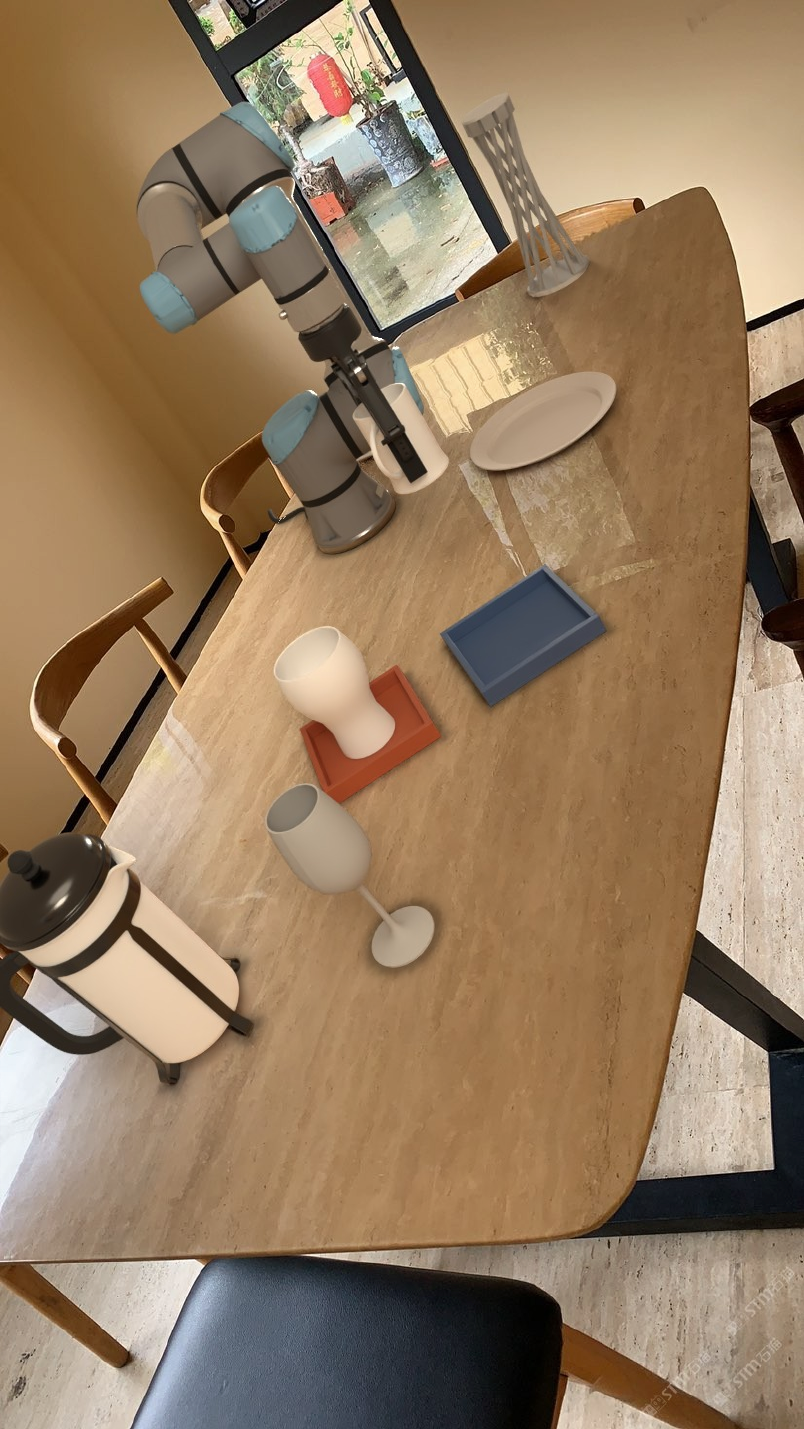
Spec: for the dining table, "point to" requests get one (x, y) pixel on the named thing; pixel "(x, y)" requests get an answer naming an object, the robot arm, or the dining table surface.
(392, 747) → the cup tray
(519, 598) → the mug tray
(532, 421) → the plate
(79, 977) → the coffee press
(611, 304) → the dining table surface
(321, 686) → the cup
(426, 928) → the wineglass
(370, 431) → the mug
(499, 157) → the grey lattice tower
